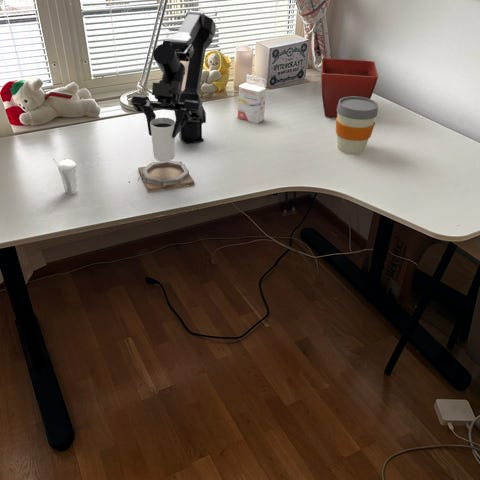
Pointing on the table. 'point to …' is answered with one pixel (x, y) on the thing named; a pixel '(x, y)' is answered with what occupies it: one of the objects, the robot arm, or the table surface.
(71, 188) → the milkshake
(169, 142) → the white cup
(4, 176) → the table surface
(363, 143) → the reusable coffee cup
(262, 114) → the ink cartridge box
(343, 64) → the plant pot
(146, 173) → the ring board
